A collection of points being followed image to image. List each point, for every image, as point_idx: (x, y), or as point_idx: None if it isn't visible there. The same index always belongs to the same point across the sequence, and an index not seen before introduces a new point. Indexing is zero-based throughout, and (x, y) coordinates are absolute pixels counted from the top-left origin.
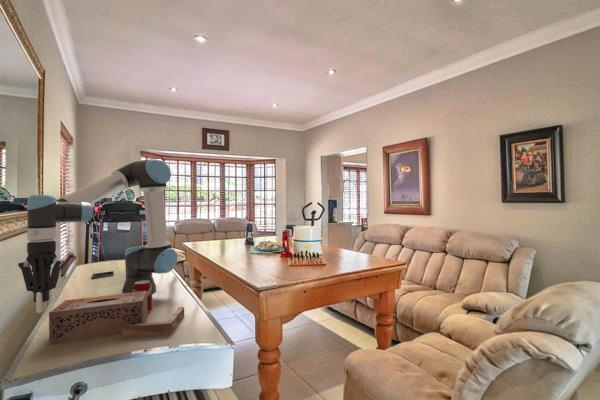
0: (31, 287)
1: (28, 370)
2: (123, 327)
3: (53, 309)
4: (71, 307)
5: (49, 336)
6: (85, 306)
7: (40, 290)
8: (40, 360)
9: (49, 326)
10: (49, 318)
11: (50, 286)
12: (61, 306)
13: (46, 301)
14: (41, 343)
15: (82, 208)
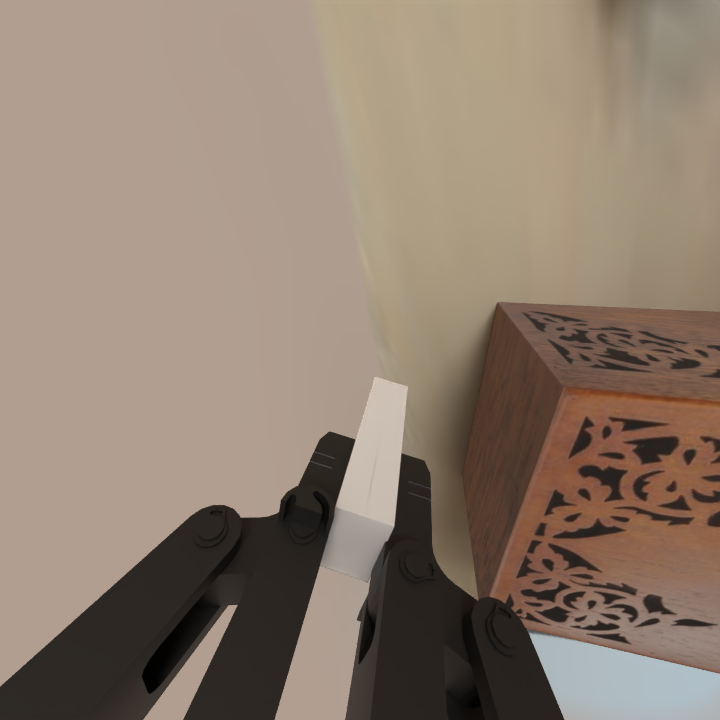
0: (217, 602)
1: None
2: None
3: (495, 586)
4: (607, 612)
5: (466, 500)
6: (702, 647)
7: (326, 539)
8: (464, 561)
9: (472, 540)
10: (477, 580)
11: (475, 717)
12: (539, 558)
13: (402, 431)
14: (431, 449)
15: None
